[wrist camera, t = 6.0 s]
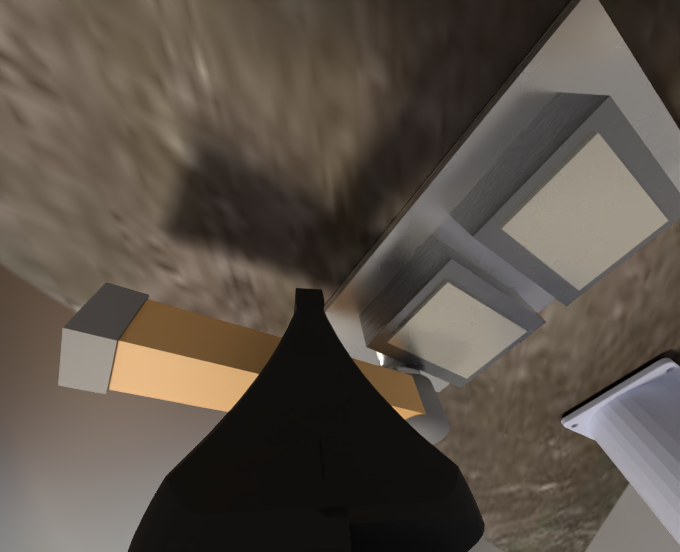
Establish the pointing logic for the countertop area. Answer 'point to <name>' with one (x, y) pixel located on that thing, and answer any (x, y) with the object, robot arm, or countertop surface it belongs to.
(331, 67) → the countertop surface
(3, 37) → the countertop surface
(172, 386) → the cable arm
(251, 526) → the robot arm
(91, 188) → the countertop surface
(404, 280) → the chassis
